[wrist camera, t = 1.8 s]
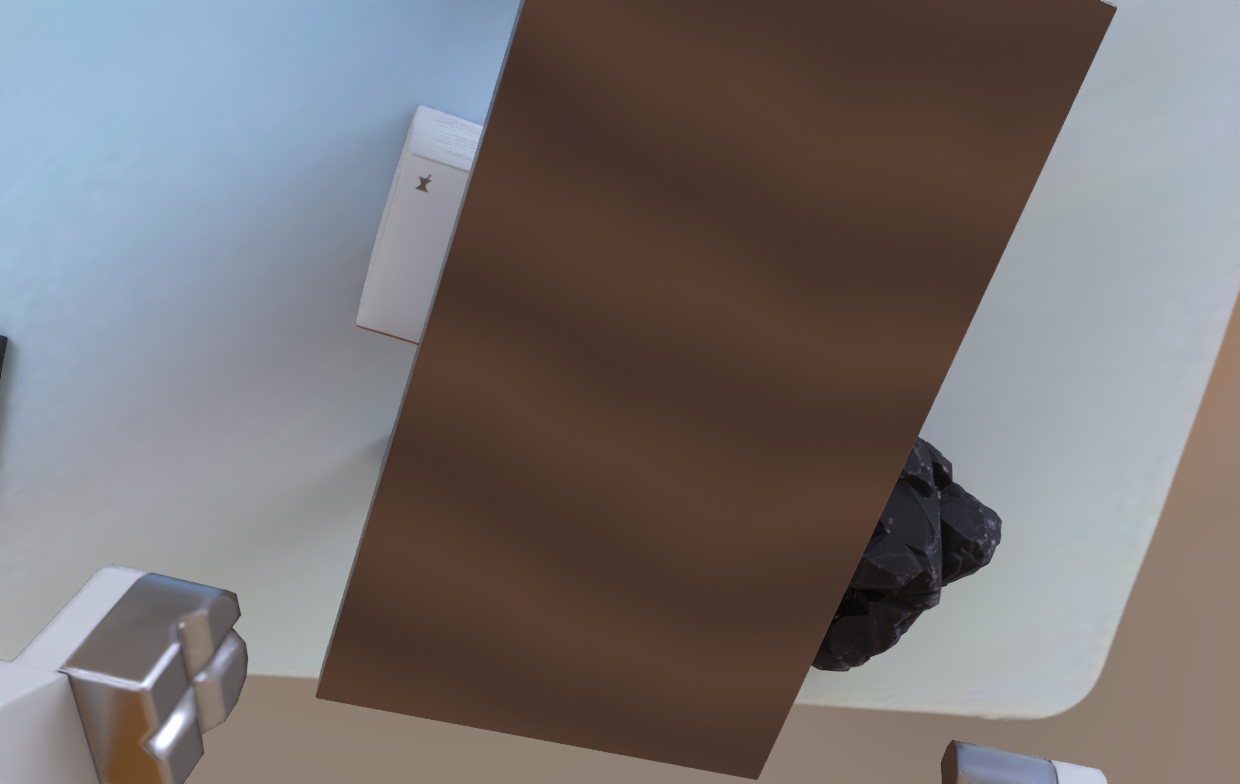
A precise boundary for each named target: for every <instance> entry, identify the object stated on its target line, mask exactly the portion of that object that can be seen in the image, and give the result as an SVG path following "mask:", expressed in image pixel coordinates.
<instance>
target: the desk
mask: <svg viewBox="0 0 1240 784" xmlns="http://www.w3.org/2000/svg"><path fill="white" fill-rule="evenodd" d="M1116 10H1117V6H1116V5H1114V4H1112V3H1109V2H1107V1H1105V0H521V2H520V5H519V8H518V12H517V15H516V18H515V22H514V25H513V28H512V32H511V35H510V38H509V42H508V45H507V49H506V52H505V55H504V59H503V62H502V65H501V69H500V72H499V75H498V79H497V82H496V85H495V89H494V92H493V95H492V99H491V102H490V105H489V109H488V112H487V115H486V119H485V122H484V125H483V129H482V132H481V135H480V139H479V142H478V146H477V149H476V152H475V156H474V159H473V162H472V166H471V169H470V172H469V176H468V179H467V182H466V186H465V189H464V192H463V196H462V199H461V202H460V206H459V209H458V212H457V216H456V219H455V222H454V226H453V229H452V233H451V236H450V239H449V243H448V246H447V249H446V253H445V256H444V259H443V263H442V266H441V269H440V273H439V276H438V279H437V283H436V286H435V289H434V293H433V296H432V299H431V303H430V306H429V309H428V313H427V316H426V319H425V323H424V326H423V330H422V333H421V336H420V340H419V343H418V346H417V350H416V353H415V356H414V360H413V363H412V366H411V370H410V373H409V376H408V380H407V383H406V386H405V390H404V393H403V396H402V400H401V403H400V406H399V410H398V413H397V417H396V420H395V423H394V427H393V430H392V433H391V435H390V437H389V441H388V444H387V448H386V451H385V454H384V458H383V461H382V464H381V468H380V473H379V477H378V480H377V483H376V487H375V490H374V493H373V497H372V500H371V503H370V507H369V510H368V514H367V517H366V520H365V524H364V527H363V530H362V534H361V537H360V540H359V544H358V547H357V550H356V554H355V557H354V560H353V564H352V567H351V570H350V574H349V577H348V580H347V584H346V587H345V590H344V594H343V597H342V601H341V604H340V607H339V611H338V614H337V617H336V621H335V624H334V627H333V631H332V634H331V637H330V641H329V644H328V647H327V651H326V654H325V657H324V661H323V664H322V667H321V671H320V676H319V682H318V687H317V693H316V698H319V699H325V700H330V701H335V702H340V703H346V704H351V705H356V706H362V707H367V708H373V709H378V710H383V711H388V712H394V713H400V714H405V715H410V716H415V717H421V718H427V719H431V720H437V721H443V722H448V723H453V724H458V725H464V726H469V727H474V728H480V729H485V730H491V731H497V732H501V733H507V734H512V735H518V736H523V737H528V738H534V739H539V740H544V741H550V742H555V743H560V744H566V745H571V746H577V747H582V748H588V749H593V750H598V751H604V752H609V753H614V754H620V755H626V756H630V757H636V758H641V759H646V760H652V761H657V762H663V763H668V764H674V765H679V766H684V767H689V768H695V769H701V770H706V771H711V772H716V773H722V774H727V775H732V776H738V777H744V778H749V779H754V780H757V779H758V778H759V776H760V774H761V771H762V769H763V767H764V765H765V763H766V761H767V759H768V756H769V754H770V752H771V750H772V748H773V746H774V743H775V741H776V739H777V737H778V735H779V733H780V731H781V728H782V726H783V724H784V722H785V720H786V718H787V716H788V713H789V711H790V709H791V707H792V705H793V703H794V701H795V698H796V696H797V694H798V692H799V690H800V688H801V686H802V683H803V681H804V679H805V677H806V675H807V673H808V671H809V668H810V666H811V664H812V662H813V660H814V658H815V656H816V653H817V651H818V649H819V647H820V645H821V643H822V641H823V638H824V636H825V634H826V632H827V630H828V628H829V626H830V623H831V621H832V619H833V617H834V615H835V613H836V611H837V608H838V606H839V604H840V602H841V600H842V598H843V596H844V593H845V591H846V589H847V587H848V585H849V583H850V581H851V578H852V576H853V574H854V572H855V570H856V568H857V565H858V563H859V561H860V559H861V557H862V555H863V553H864V550H865V548H866V546H867V544H868V542H869V540H870V538H871V535H872V533H873V531H874V529H875V527H876V525H877V523H878V520H879V518H880V516H881V514H882V512H883V510H884V508H885V505H886V503H887V501H888V499H889V497H890V495H891V493H892V490H893V488H894V486H895V484H896V482H897V480H898V478H899V475H900V473H901V471H902V469H903V467H904V465H905V463H906V460H907V458H908V456H909V454H910V452H911V450H912V448H913V445H914V443H915V441H916V439H917V437H918V435H919V433H920V430H921V428H922V426H923V424H924V422H925V420H926V418H927V415H928V413H929V411H930V409H931V407H932V405H933V402H934V400H935V398H936V396H937V394H938V392H939V390H940V387H941V385H942V383H943V381H944V379H945V377H946V375H947V372H948V370H949V368H950V366H951V364H952V362H953V360H954V357H955V355H956V353H957V351H958V349H959V347H960V345H961V342H962V340H963V338H964V336H965V334H966V332H967V330H968V327H969V325H970V323H971V321H972V319H973V317H974V315H975V312H976V310H977V308H978V306H979V304H980V302H981V300H982V297H983V295H984V293H985V291H986V289H987V287H988V285H989V282H990V280H991V278H992V276H993V274H994V272H995V270H996V267H997V265H998V263H999V261H1000V259H1001V257H1002V255H1003V252H1004V250H1005V248H1006V246H1007V244H1008V242H1009V239H1010V237H1011V235H1012V233H1013V231H1014V229H1015V227H1016V224H1017V222H1018V220H1019V218H1020V216H1021V214H1022V212H1023V209H1024V207H1025V205H1026V203H1027V201H1028V199H1029V197H1030V194H1031V192H1032V190H1033V188H1034V186H1035V184H1036V182H1037V179H1038V177H1039V175H1040V173H1041V171H1042V169H1043V167H1044V164H1045V162H1046V160H1047V158H1048V156H1049V154H1050V152H1051V149H1052V147H1053V145H1054V143H1055V141H1056V139H1057V137H1058V134H1059V132H1060V130H1061V128H1062V126H1063V124H1064V122H1065V119H1066V117H1067V115H1068V113H1069V111H1070V109H1071V107H1072V104H1073V102H1074V100H1075V98H1076V96H1077V94H1078V92H1079V89H1080V87H1081V85H1082V83H1083V81H1084V79H1085V76H1086V74H1087V72H1088V70H1089V68H1090V66H1091V64H1092V61H1093V59H1094V57H1095V55H1096V53H1097V51H1098V49H1099V46H1100V44H1101V42H1102V40H1103V38H1104V36H1105V34H1106V31H1107V29H1108V27H1109V25H1110V23H1111V21H1112V19H1113V16H1114V14H1115V12H1116Z"/></svg>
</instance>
